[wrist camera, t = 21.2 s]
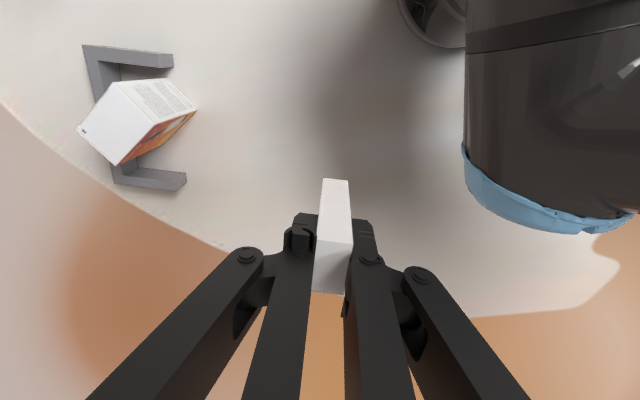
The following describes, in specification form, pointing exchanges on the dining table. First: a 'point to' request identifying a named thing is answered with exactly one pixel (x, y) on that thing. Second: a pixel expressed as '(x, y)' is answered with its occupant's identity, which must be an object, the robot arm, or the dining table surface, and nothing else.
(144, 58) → the square bracket
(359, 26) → the dining table surface
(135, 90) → the small box
